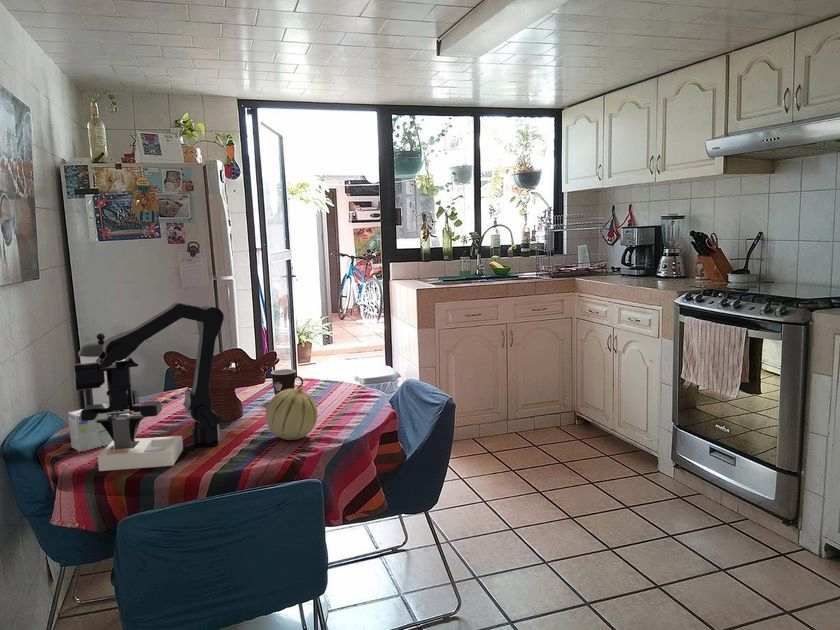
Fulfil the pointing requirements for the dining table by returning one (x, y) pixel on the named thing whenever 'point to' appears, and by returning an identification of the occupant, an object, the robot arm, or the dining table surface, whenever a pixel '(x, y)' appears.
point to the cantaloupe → (291, 414)
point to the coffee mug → (284, 380)
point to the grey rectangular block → (122, 432)
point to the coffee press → (90, 355)
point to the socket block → (142, 454)
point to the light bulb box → (87, 432)
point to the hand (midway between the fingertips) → (124, 441)
